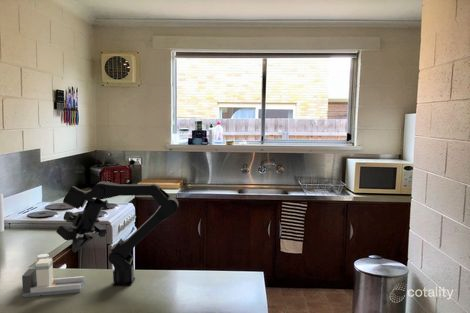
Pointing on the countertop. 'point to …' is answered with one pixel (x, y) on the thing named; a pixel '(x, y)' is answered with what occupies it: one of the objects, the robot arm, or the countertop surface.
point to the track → (56, 288)
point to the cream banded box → (44, 272)
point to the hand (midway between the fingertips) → (73, 251)
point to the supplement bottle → (42, 257)
